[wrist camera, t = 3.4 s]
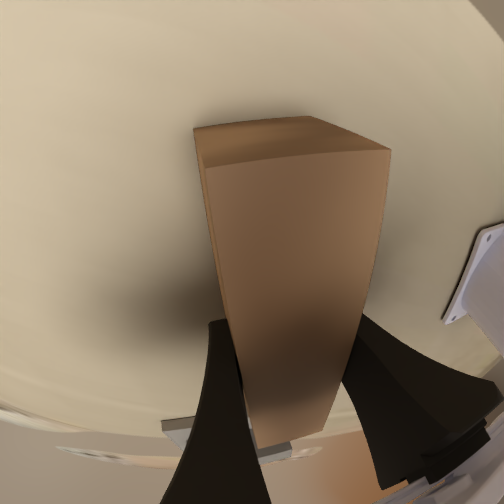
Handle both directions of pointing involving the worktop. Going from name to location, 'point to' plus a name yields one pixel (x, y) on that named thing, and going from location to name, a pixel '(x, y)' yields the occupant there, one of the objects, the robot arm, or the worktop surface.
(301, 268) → the beam
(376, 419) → the robot arm
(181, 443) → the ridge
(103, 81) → the worktop surface
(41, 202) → the worktop surface
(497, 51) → the worktop surface
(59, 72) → the worktop surface
